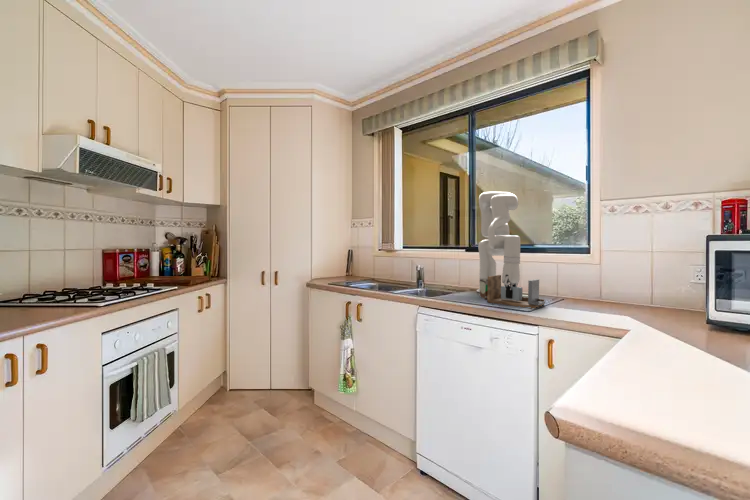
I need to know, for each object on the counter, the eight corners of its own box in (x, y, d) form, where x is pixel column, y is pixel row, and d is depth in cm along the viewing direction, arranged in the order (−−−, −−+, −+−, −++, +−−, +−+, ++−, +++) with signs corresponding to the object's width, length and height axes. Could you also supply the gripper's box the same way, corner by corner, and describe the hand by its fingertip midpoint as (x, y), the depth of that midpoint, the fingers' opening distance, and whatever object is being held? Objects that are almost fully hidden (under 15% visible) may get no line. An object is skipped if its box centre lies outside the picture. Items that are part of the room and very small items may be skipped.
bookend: (535, 301, 169) (535, 279, 168) (545, 303, 165) (545, 280, 165) (528, 304, 163) (528, 280, 162) (538, 305, 159) (538, 281, 159)
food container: (497, 299, 183) (497, 280, 183) (485, 299, 183) (486, 280, 183) (490, 296, 195) (490, 278, 195) (479, 296, 195) (479, 278, 195)
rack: (498, 299, 184) (499, 274, 183) (544, 305, 167) (544, 278, 167) (487, 302, 175) (487, 276, 175) (534, 308, 159) (534, 280, 159)
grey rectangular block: (504, 297, 177) (504, 285, 177) (522, 299, 171) (522, 287, 171) (500, 298, 175) (501, 286, 174) (518, 300, 168) (518, 288, 168)
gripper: (511, 259, 181) (511, 295, 181) (496, 260, 169) (496, 298, 170) (526, 260, 175) (525, 296, 176) (511, 261, 164) (511, 300, 164)
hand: (511, 297), depth 173 cm, fingers closed on grey rectangular block, 4 cm apart
